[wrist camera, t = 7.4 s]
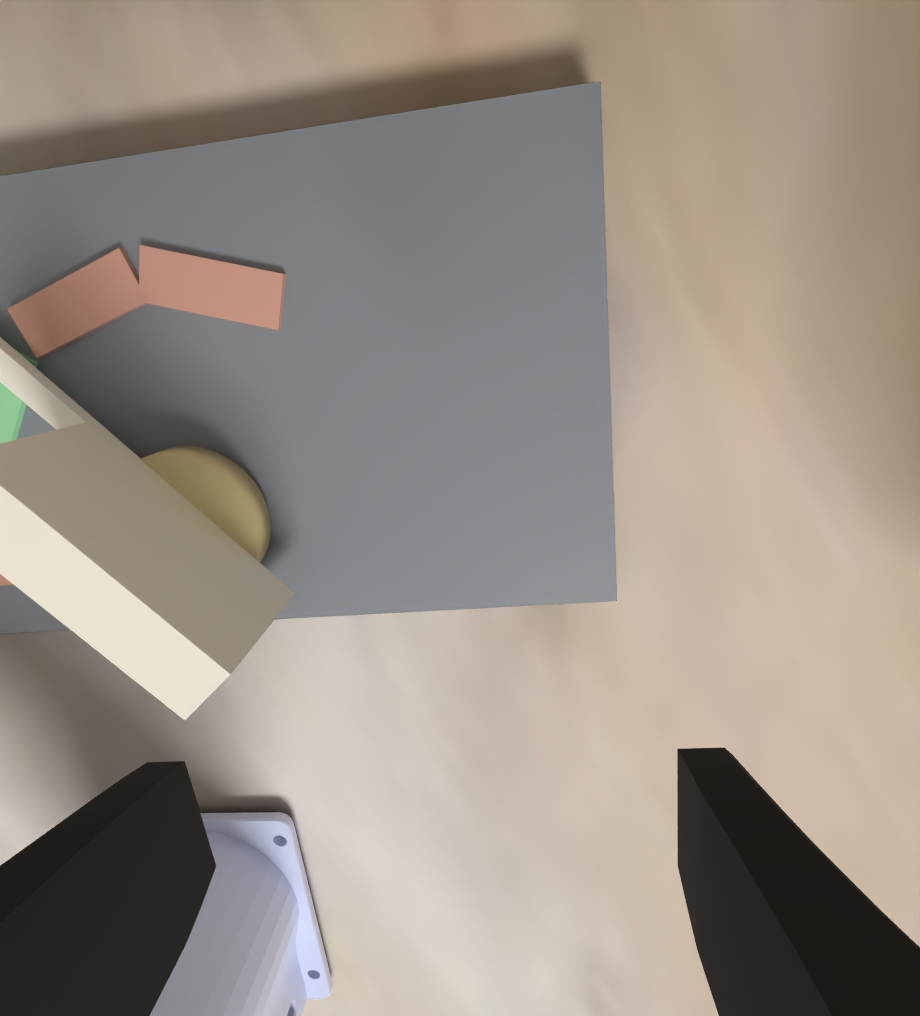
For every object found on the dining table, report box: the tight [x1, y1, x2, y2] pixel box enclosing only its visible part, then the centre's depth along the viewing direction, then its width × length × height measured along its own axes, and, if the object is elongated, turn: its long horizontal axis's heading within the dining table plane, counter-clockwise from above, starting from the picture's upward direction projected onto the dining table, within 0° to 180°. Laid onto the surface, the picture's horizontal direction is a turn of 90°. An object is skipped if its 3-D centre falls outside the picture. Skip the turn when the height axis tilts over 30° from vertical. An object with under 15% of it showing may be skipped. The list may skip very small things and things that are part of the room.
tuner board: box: [0, 81, 617, 634], centre depth 17 cm, size 13×24×1 cm, turn 96°
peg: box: [0, 337, 295, 720], centre depth 15 cm, size 12×4×5 cm, turn 46°
